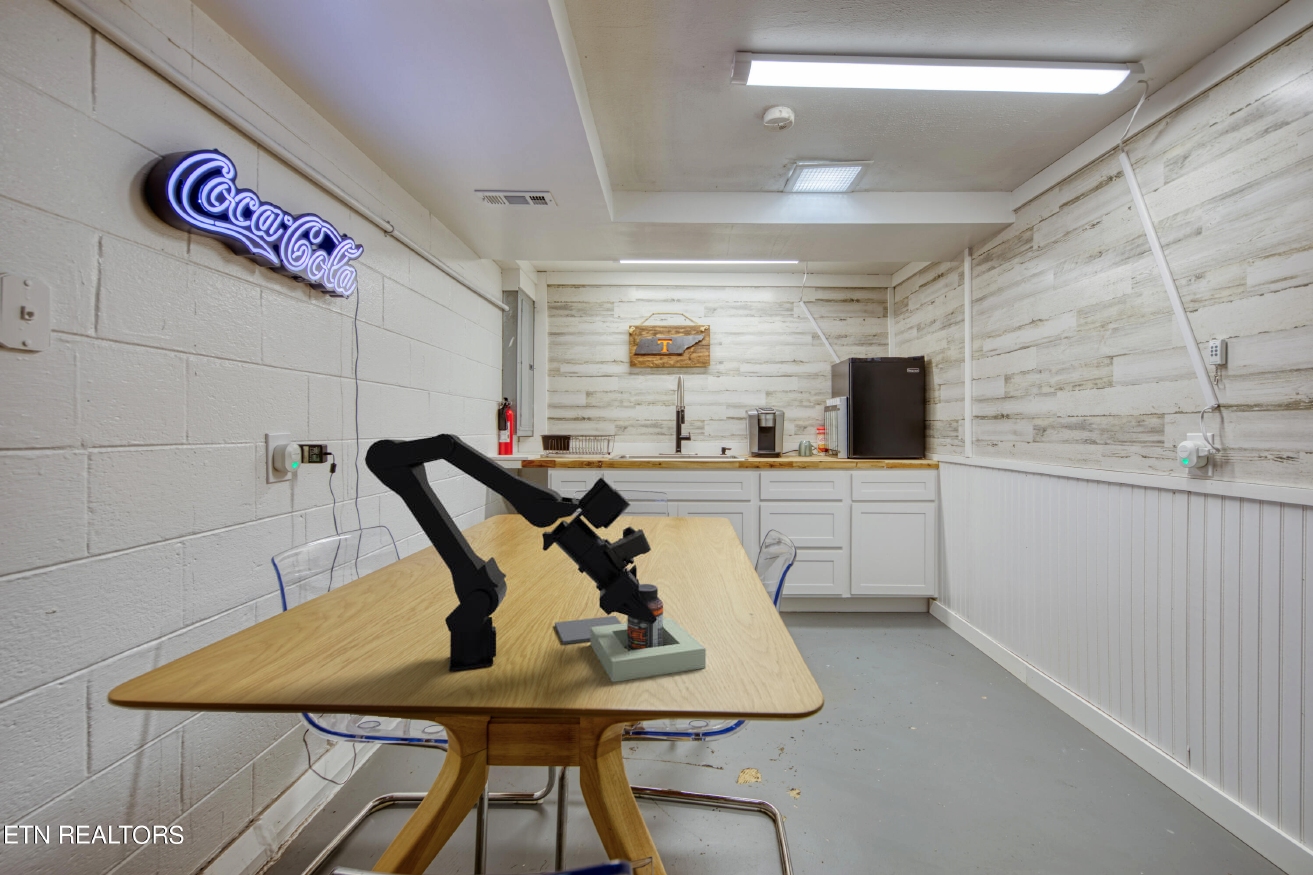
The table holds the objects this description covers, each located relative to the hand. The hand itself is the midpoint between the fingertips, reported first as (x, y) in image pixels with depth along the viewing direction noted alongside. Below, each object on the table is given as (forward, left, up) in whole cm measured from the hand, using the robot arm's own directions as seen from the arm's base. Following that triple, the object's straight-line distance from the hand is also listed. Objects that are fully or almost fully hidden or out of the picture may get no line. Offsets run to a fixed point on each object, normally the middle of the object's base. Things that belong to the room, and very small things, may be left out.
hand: (653, 615), depth 84 cm
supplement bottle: (-1, 0, -7) cm, 7 cm away
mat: (-7, +14, -7) cm, 17 cm away
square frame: (-1, 0, -7) cm, 7 cm away
